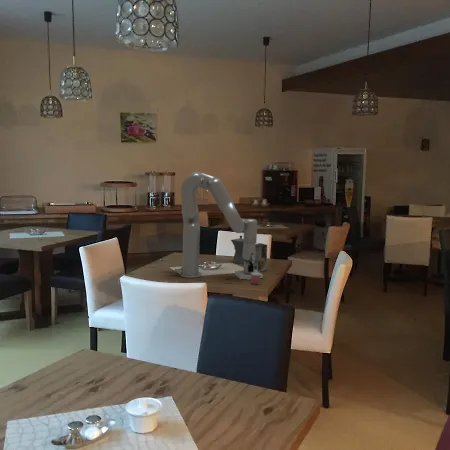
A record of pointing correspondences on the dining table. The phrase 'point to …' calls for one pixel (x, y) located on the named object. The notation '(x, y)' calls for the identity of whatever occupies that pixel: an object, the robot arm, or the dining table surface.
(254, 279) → the jam jar
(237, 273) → the tray
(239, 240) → the coffeepot
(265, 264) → the coffee box
